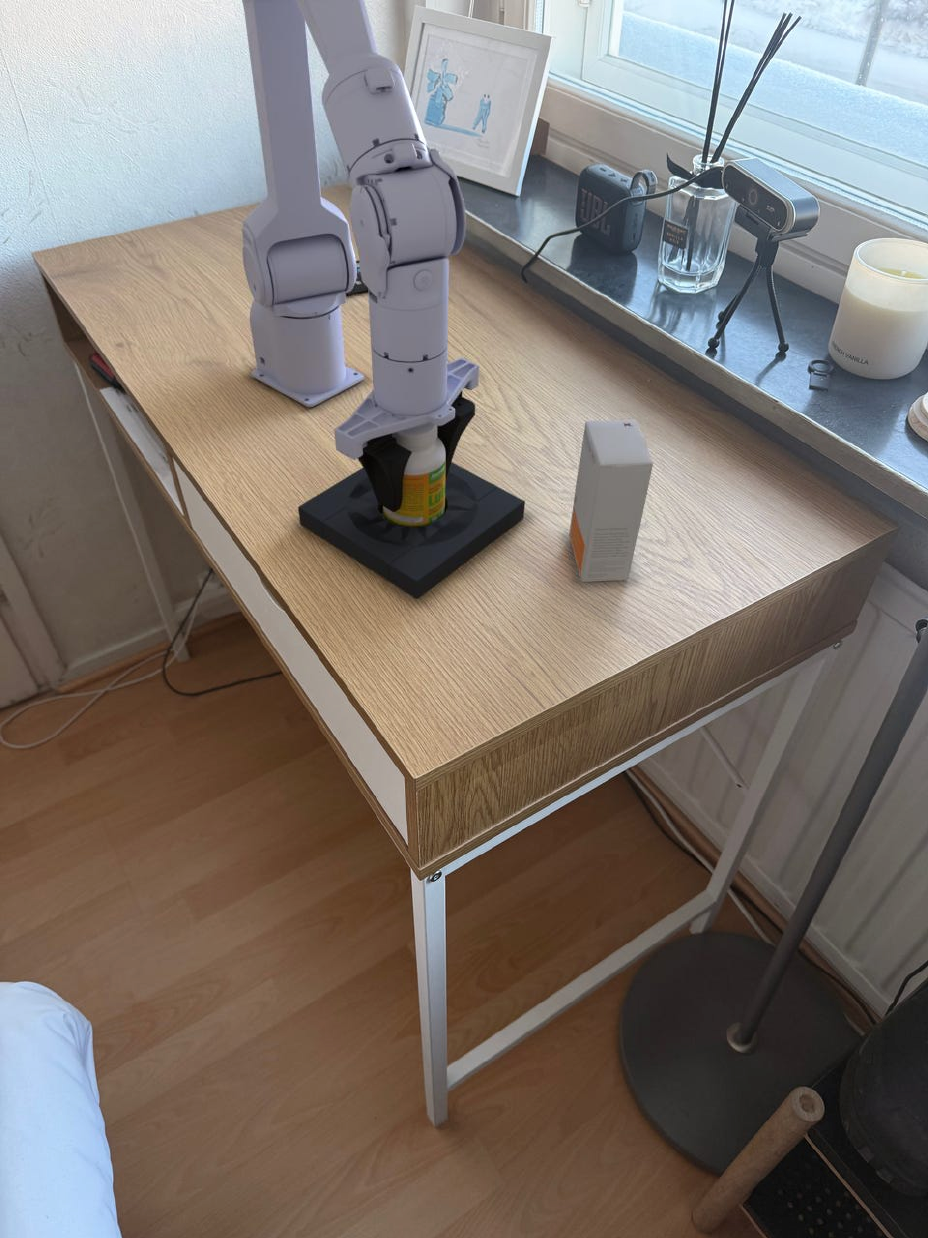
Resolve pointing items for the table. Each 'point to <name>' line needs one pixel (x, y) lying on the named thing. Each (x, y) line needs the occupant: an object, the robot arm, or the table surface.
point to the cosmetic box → (609, 499)
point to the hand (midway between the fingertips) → (412, 490)
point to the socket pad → (412, 528)
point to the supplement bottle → (421, 478)
